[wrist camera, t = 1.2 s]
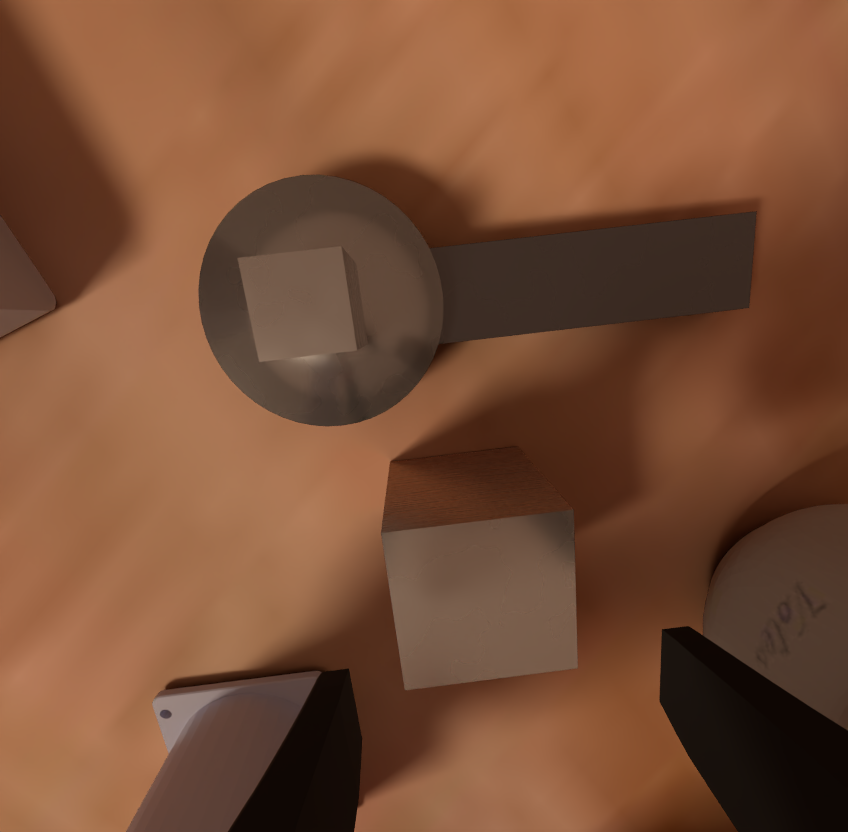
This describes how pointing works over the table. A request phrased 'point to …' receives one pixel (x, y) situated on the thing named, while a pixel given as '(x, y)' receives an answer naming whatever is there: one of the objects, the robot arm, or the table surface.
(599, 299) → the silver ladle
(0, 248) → the charger
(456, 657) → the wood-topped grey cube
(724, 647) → the teacup
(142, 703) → the table surface
